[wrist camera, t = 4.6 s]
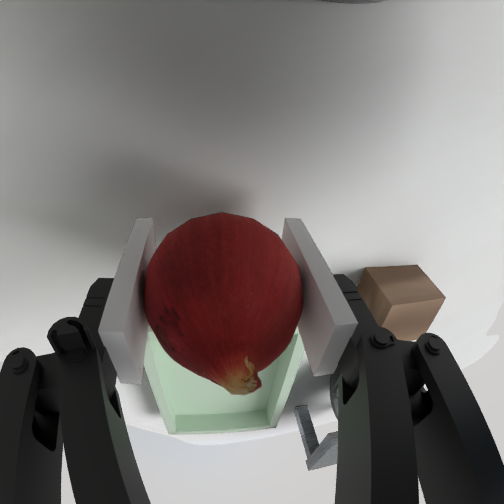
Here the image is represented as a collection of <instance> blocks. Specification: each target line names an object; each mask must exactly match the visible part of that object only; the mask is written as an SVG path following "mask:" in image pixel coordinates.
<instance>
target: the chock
mask: <svg viewBox="0 0 504 504" xmlns="http://www.w3.org/2000/svg"><path fill="white" fill-rule="evenodd" d="M357 290H358V293H360V295H361V296H362V298H363V300H364V302H365V303H366V305H367V307H368V309H369V310H370V312H371V314H372V316H373V317H374V319H375V321H376V323H377V324H378V326H380V327H384V328H386V329H388V330H389V331H391V332H392V333H393V334H394V335H395V337H396V339H398V340H403V341H412V340H416V339H418V338H419V337H420V335H421V334H424V333H426V331H427V330H428V328H429V327H430V325H431V323H432V321H433V320H434V318H435V316H436V315H437V313H438V311H439V309H440V308H441V306H442V304H443V302H444V300H445V298H446V297H445V296H444V295H443V294H442V292H441V291H440V290H439V289H438V288H437V287H436V285H435V284H434V283H433V282H432V281H431V280H430V278H429V277H428V276H427V275H426V274H425V273H424V272H423V271H422V269H421V268H420V267H419V266H418V265H409V266H387V267H365V269H364V272H363V275H362V278H361V280H360V283H359V286H358V289H357Z"/></svg>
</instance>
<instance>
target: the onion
mask: <svg viewBox="0 0 504 504" xmlns="http://www.w3.org/2000/svg"><path fill="white" fill-rule="evenodd" d="M303 303H304V301H303V292H302V283H301V276H300V270H299V265H298V264H297V262H296V261H295V259H294V258H293V256H292V255H291V253H290V252H289V250H288V249H287V247H286V246H285V244H284V243H283V241H282V240H281V238H280V237H279V236H278V234H276V233H275V232H273V231H272V230H270V229H269V228H267V227H266V226H264V225H262V224H261V223H259V222H258V221H256V220H255V219H252V218H248V217H243V216H238V215H233V214H228V213H223V212H221V213H216V214H212V215H207V216H202V217H197V218H193V219H190V220H189V221H187V222H185V223H184V224H182V225H181V226H179V227H178V228H176V229H175V230H173V231H171V232H170V233H168V234H167V235H166V237H165V238H164V240H163V241H162V243H161V244H160V245H159V247H158V248H157V250H156V251H155V253H154V254H153V256H152V258H151V260H150V262H149V264H148V266H147V268H146V277H145V287H144V311H145V314H146V317H147V321H148V323H149V325H150V327H151V329H152V331H153V332H154V334H155V336H156V338H157V340H158V341H159V343H160V345H161V346H162V348H163V349H164V351H165V352H166V353H167V354H168V355H169V356H170V357H171V358H172V359H173V360H174V361H175V362H177V363H178V364H180V365H181V366H182V367H184V368H186V369H188V370H189V371H191V372H193V373H195V374H197V375H198V376H201V377H203V378H206V379H208V380H210V381H211V382H213V383H215V384H217V385H219V386H221V387H223V388H225V389H226V390H227V391H228V392H229V393H230V394H232V395H244V396H245V395H247V394H250V393H253V392H255V391H256V390H257V389H259V388H261V386H262V384H261V380H260V378H259V377H258V372H260V371H262V370H264V369H265V368H266V367H268V366H269V365H270V364H271V363H272V362H273V361H275V360H276V359H277V358H278V357H279V356H280V355H281V354H282V353H283V352H284V351H285V350H286V348H287V347H288V345H289V344H290V342H291V340H292V338H293V335H294V333H295V330H296V328H297V325H298V322H299V320H300V317H301V315H302V309H303Z"/></svg>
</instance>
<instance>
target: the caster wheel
mask: <svg viewBox="0 0 504 504" xmlns="http://www.w3.org/2000/svg"><path fill="white" fill-rule="evenodd" d="M340 375H341V371H340V368H339V365H338V366H337V368H336V369H335V371H334V373H333V374H331V379H330V399H331V404H332V408H333V411H334V414H335V416H336V418H337V419H338V389H337V391H336V392H335V394H334V393H332V391H333V387H334V386H335V384H336V382H337V381H338V379H339V377H340ZM294 413H295V416H296V420H297V423H298V427H299V430H300V434H301V437H302V441H303V444H304V448H305V451H306V455H307V460H306V464H307V467H308V470H314V469H318V468H322V467H326V466H330V465H334V464H337V456H338V431H336V432H333V433H328V435H327V436H326V437H325V438H324V440H323V441H322V442H321V444H320V445H319V443H318V440H317V436H316V433H315V430H314V427H313V424H312V421H311V417H310V414H309V411H308V408H307V405H304V406H298V407H296V409H295V411H294Z"/></svg>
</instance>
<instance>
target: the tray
mask: <svg viewBox="0 0 504 504" xmlns="http://www.w3.org/2000/svg"><path fill="white" fill-rule="evenodd" d="M304 351H305V348H304V345H303V342H302V339H301V336H300V333H299V330H298V327H297V328H296V330H295V333H294V335H293V338H292V340H291V342H290V344H289V345H288V347H287V348H286V350H285V351H284V352H283V353H282V354H281V355H280V356H279V357H278V358H277V359H276V360H275V361H273V362H272V363H271V364H270V365H269V366H268V367H266V368H265V369H264V370H262V371H260V372H258V377H259V378H260V380H261V384H262V386H261V388H259V389H257V390H256V391H255V392H253V393H250V394H247V395H245V396H244V395H232V394H230V393H229V392H228V391H227V390H226V389H225V388H223V387H221V386H219V385H217V384H215V383H213V382H211V381H210V380H208V379H206V378H203V377H201V376H198V375H197V374H195V373H193V372H191V371H189V370H188V369H186V368H184V367H182V366H181V365H180V364H178V363H177V362H175V361H174V360H173V359H172V358H171V357H170V356H169V355H168V354H167V353H166V352H165V351H164V349H163V348H162V346H161V345H160V343H159V341H158V340H157V338H156V336H155V334H154V332H153V331H152V329H151V327H150V325H149V326H148V333H147V341H146V349H145V358H144V367H145V370H146V373H147V376H148V379H149V382H150V385H151V388H152V391H153V394H154V397H155V400H156V402H157V405H158V408H159V410H160V413H161V416H162V418H163V421H164V423H165V426H166V428H167V431H168V433H169V434H213V433H229V432H241V431H251V430H260V429H268V428H276V426H277V424H278V421H279V419H280V416H281V414H282V411H283V409H284V406H285V404H286V401H287V398H288V396H289V393H290V390H291V388H292V385H293V382H294V379H295V377H296V374H297V371H298V368H299V365H300V363H301V360H302V357H303V354H304Z"/></svg>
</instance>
